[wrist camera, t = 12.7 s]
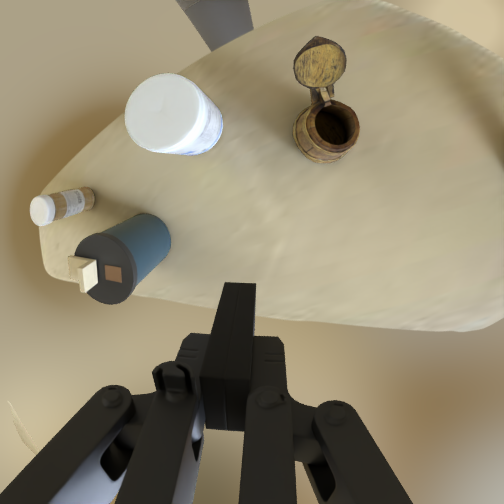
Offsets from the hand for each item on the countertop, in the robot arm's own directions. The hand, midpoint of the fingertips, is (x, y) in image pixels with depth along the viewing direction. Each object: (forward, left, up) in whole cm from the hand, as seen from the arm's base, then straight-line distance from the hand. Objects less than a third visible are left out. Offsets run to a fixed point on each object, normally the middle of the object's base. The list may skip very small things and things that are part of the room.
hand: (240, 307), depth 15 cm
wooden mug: (-14, -6, -33) cm, 37 cm away
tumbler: (+20, -6, -33) cm, 39 cm away
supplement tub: (+2, -16, -33) cm, 37 cm away
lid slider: (+22, -8, -18) cm, 29 cm away
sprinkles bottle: (+26, -20, -33) cm, 46 cm away
